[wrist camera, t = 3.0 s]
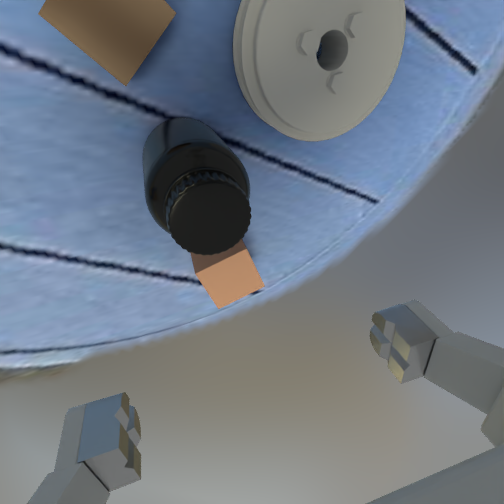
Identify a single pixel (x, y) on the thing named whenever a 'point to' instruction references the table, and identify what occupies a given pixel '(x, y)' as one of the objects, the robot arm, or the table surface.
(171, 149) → the supplement bottle
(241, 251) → the terracotta block
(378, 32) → the light grey thick disc
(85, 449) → the robot arm
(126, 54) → the walnut block
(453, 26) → the table surface
